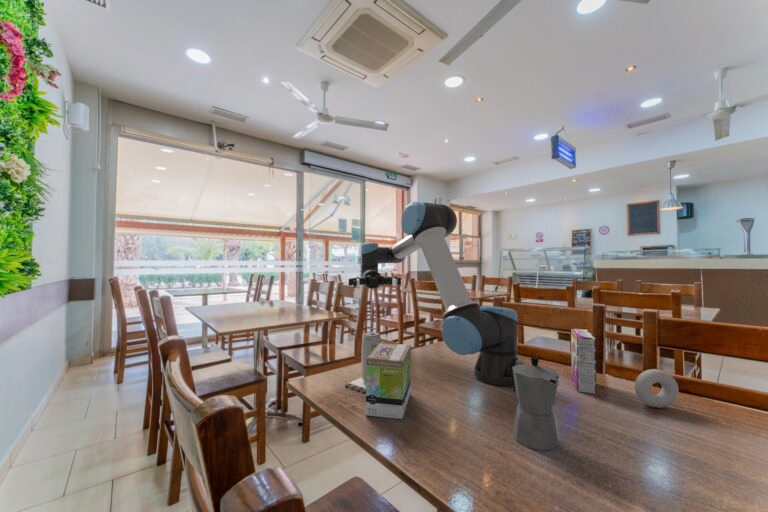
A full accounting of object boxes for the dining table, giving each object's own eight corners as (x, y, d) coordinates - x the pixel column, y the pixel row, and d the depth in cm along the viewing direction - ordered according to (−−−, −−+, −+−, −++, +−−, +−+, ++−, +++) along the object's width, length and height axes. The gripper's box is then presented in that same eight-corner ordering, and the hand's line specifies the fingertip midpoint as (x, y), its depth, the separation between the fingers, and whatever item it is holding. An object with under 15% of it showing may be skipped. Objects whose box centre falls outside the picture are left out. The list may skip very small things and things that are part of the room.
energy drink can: (372, 376, 106) (371, 330, 106) (385, 381, 102) (385, 333, 101) (358, 381, 101) (358, 333, 101) (371, 387, 97) (371, 337, 97)
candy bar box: (570, 378, 105) (570, 328, 105) (588, 380, 103) (588, 329, 103) (576, 392, 94) (576, 336, 94) (596, 395, 93) (596, 338, 92)
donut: (672, 405, 86) (672, 367, 86) (682, 411, 83) (682, 372, 83) (631, 403, 87) (631, 366, 87) (640, 409, 84) (640, 371, 84)
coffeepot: (576, 453, 66) (577, 365, 65) (536, 460, 64) (536, 369, 63) (527, 416, 81) (527, 344, 80) (493, 421, 79) (493, 347, 78)
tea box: (404, 420, 79) (404, 360, 79) (364, 416, 81) (364, 357, 81) (411, 394, 94) (411, 343, 94) (377, 391, 96) (377, 341, 96)
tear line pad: (394, 382, 102) (394, 379, 102) (370, 395, 93) (370, 392, 93) (369, 374, 108) (369, 372, 108) (345, 386, 99) (345, 384, 99)
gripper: (400, 287, 139) (411, 293, 118) (342, 288, 135) (342, 294, 114) (400, 269, 139) (411, 272, 118) (342, 270, 135) (342, 273, 114)
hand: (377, 283), depth 116 cm, fingers open, 13 cm apart
